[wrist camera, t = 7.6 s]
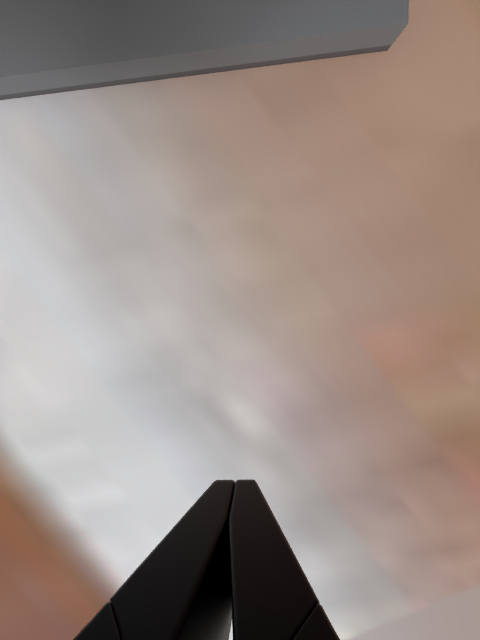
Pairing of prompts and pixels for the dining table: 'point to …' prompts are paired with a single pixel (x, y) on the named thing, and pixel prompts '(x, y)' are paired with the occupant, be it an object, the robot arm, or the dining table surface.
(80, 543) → the dining table surface
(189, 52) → the panel
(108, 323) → the dining table surface
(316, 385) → the dining table surface
